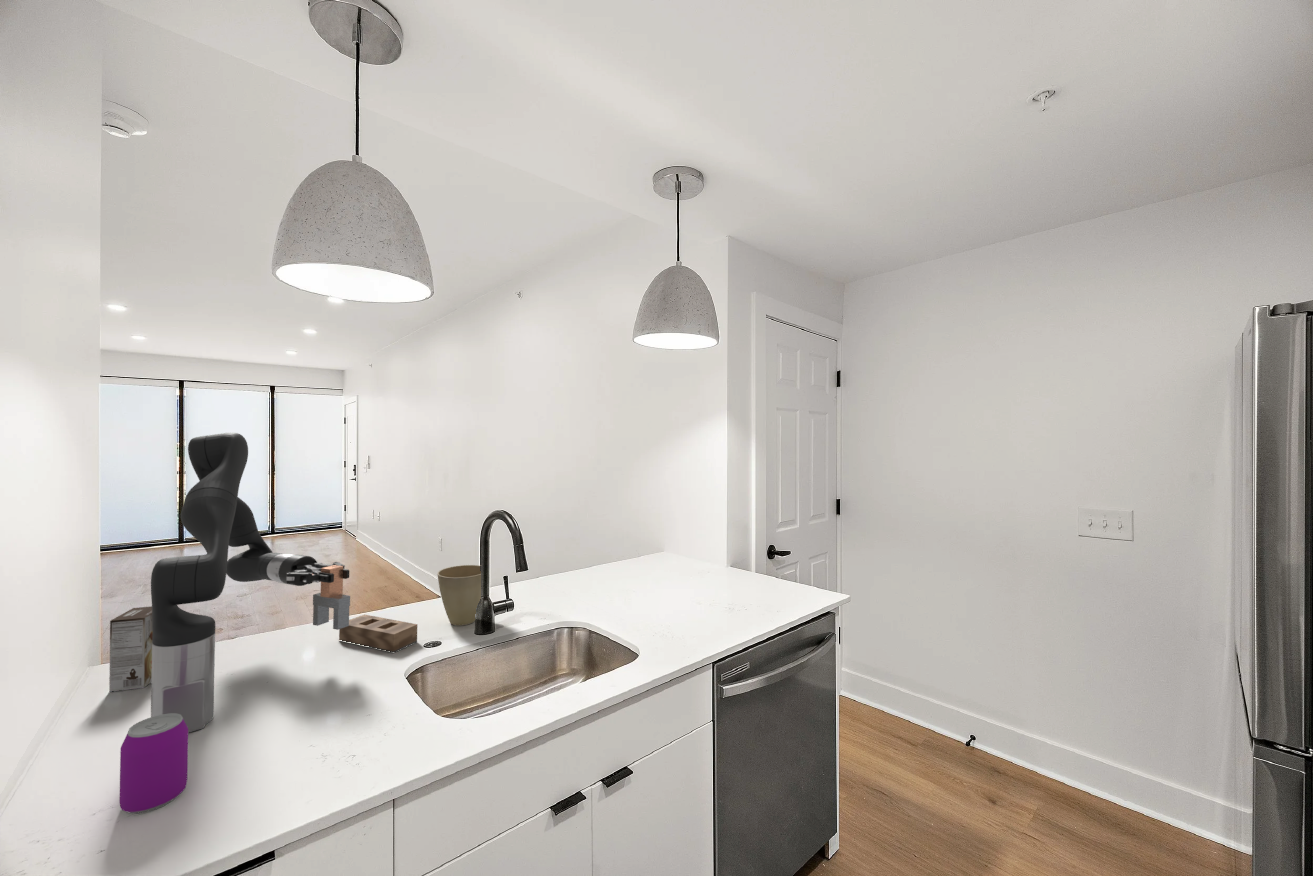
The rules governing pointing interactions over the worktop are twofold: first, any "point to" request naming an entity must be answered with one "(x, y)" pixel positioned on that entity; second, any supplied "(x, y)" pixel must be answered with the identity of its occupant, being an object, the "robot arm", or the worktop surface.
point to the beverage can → (153, 763)
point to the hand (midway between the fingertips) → (340, 576)
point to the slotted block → (379, 633)
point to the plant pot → (460, 592)
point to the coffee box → (131, 650)
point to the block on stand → (332, 600)
